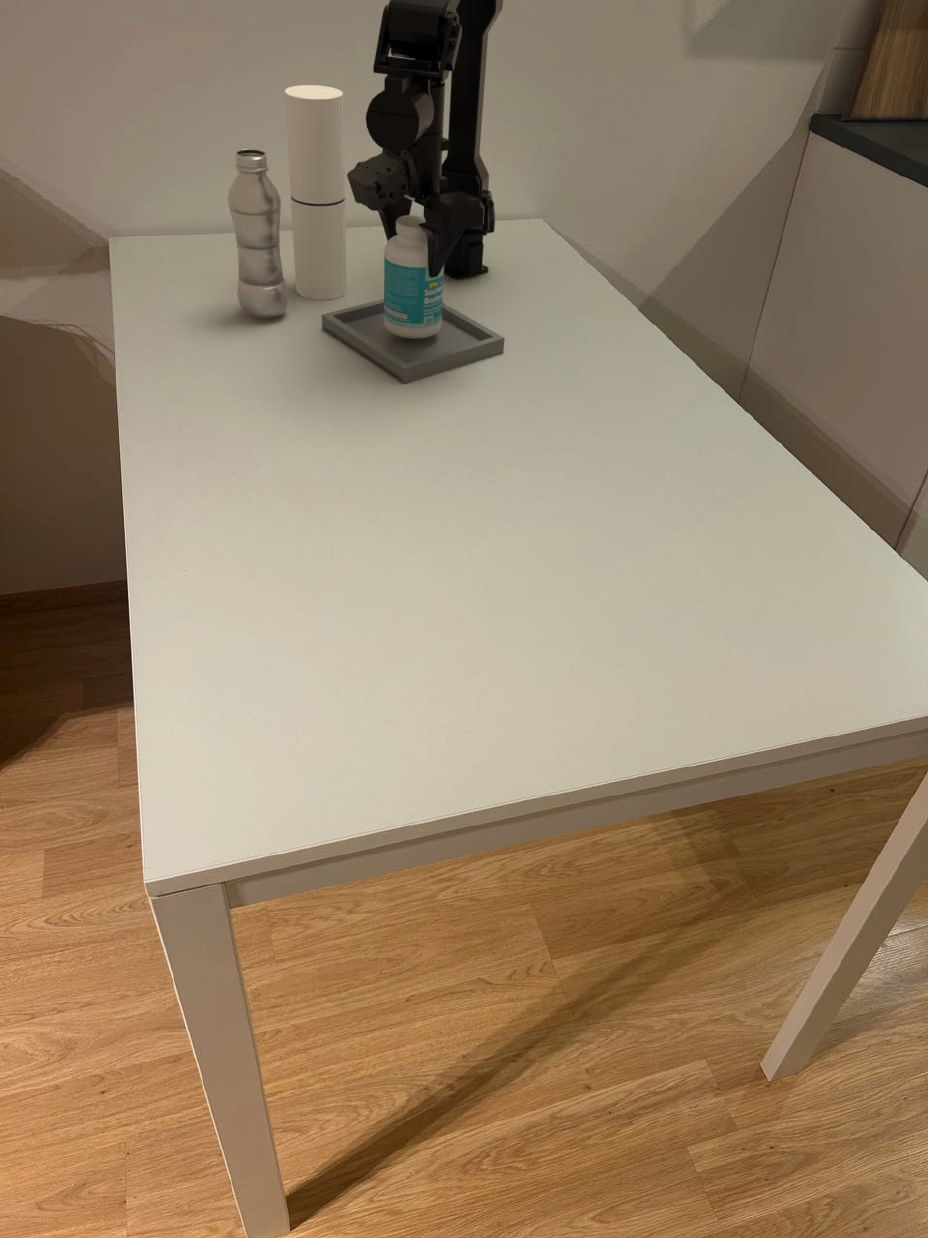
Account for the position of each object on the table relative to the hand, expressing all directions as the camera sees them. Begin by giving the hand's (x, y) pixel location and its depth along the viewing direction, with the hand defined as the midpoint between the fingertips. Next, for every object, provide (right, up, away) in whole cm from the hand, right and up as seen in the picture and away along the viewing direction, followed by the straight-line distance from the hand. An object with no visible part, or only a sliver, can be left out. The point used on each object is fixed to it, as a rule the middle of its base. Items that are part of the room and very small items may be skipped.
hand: (414, 266), depth 115 cm
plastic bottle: (-21, -3, +10) cm, 23 cm away
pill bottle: (0, -6, +5) cm, 8 cm away
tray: (-1, -7, +6) cm, 10 cm away
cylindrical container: (-14, +3, +17) cm, 22 cm away
